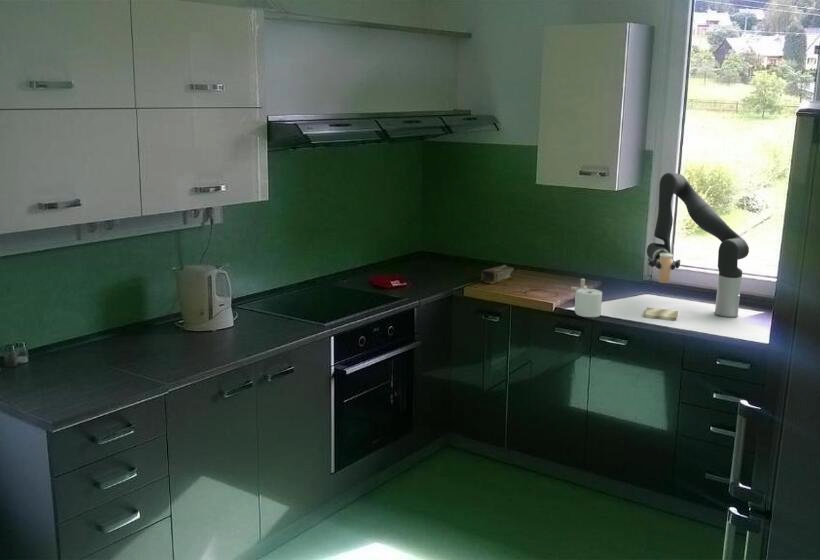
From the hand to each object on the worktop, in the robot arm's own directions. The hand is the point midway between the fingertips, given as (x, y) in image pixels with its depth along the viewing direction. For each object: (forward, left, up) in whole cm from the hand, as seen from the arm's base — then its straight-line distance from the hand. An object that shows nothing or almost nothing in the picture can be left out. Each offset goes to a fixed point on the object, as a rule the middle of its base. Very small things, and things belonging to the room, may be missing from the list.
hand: (666, 266), depth 342 cm
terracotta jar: (0, -3, -7) cm, 7 cm away
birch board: (0, -3, -22) cm, 22 cm away
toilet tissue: (+30, +8, -22) cm, 39 cm away
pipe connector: (+36, -14, -22) cm, 45 cm away
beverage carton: (+82, -35, -22) cm, 92 cm away
